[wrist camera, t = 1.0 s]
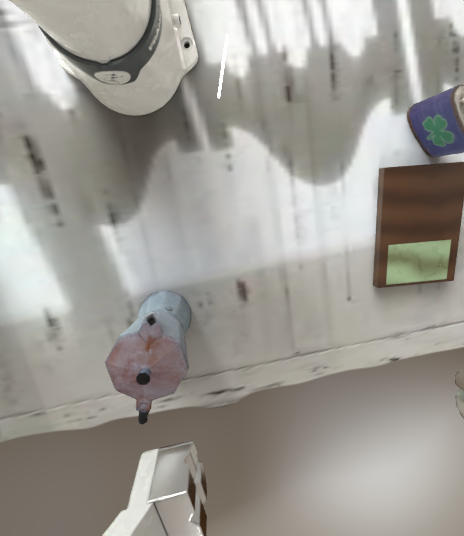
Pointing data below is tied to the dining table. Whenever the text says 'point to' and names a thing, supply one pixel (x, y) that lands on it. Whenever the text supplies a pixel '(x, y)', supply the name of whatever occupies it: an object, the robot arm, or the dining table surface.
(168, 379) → the moka pot
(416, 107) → the flask
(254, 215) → the dining table surface
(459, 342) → the dining table surface
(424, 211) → the board
